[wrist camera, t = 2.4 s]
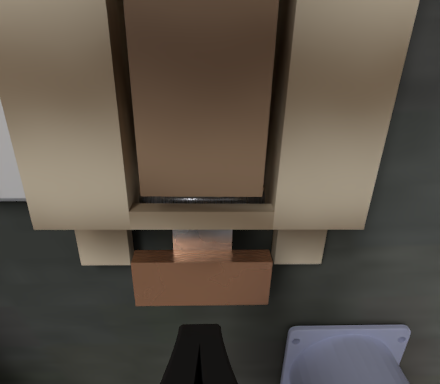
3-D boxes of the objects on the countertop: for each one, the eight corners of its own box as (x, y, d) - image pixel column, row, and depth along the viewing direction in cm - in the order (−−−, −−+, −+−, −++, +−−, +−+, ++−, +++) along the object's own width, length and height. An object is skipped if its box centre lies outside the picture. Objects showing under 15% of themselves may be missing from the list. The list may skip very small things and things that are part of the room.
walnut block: (254, 174, 13) (262, 196, 12) (149, 174, 13) (140, 196, 11) (272, -73, 10) (287, -96, 8) (130, -78, 10) (113, -104, 8)
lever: (262, 281, 17) (268, 304, 15) (141, 282, 16) (135, 306, 15) (299, -88, 10) (313, -107, 9) (103, -96, 10) (87, -117, 9)
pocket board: (315, 253, 19) (343, 310, 15) (87, 254, 19) (55, 313, 15) (384, -137, 12) (473, -222, 8) (13, -155, 11) (-90, -255, 7)
